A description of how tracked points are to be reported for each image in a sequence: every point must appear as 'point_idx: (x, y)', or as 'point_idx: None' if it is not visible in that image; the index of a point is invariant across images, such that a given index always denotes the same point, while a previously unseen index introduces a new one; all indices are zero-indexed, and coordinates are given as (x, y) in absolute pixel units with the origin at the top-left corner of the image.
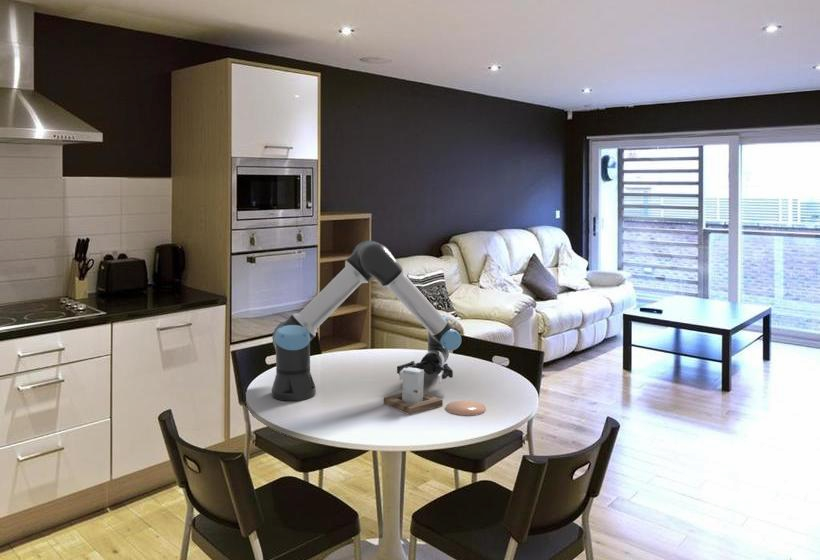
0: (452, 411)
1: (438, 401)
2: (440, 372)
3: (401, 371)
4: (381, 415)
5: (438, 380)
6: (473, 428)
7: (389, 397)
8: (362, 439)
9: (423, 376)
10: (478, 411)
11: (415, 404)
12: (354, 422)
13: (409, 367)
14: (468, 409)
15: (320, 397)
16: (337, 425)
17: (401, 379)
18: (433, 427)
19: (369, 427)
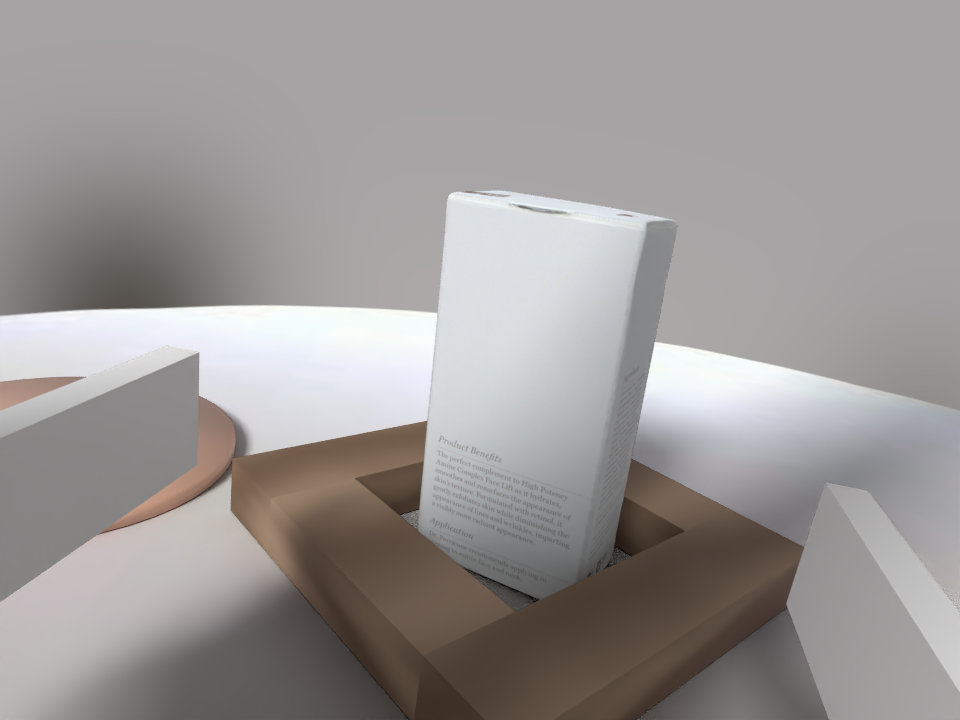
0: (217, 407)
1: (282, 453)
2: (57, 408)
3: (877, 526)
4: (688, 454)
5: (190, 424)
6: (197, 329)
7: (756, 546)
8: (660, 350)
9: (445, 267)
10: (21, 386)
11: None
12: (782, 423)
13: (632, 217)
14: None
15: None
16: (836, 416)
17: (791, 591)
18: (388, 355)
19: (682, 389)
